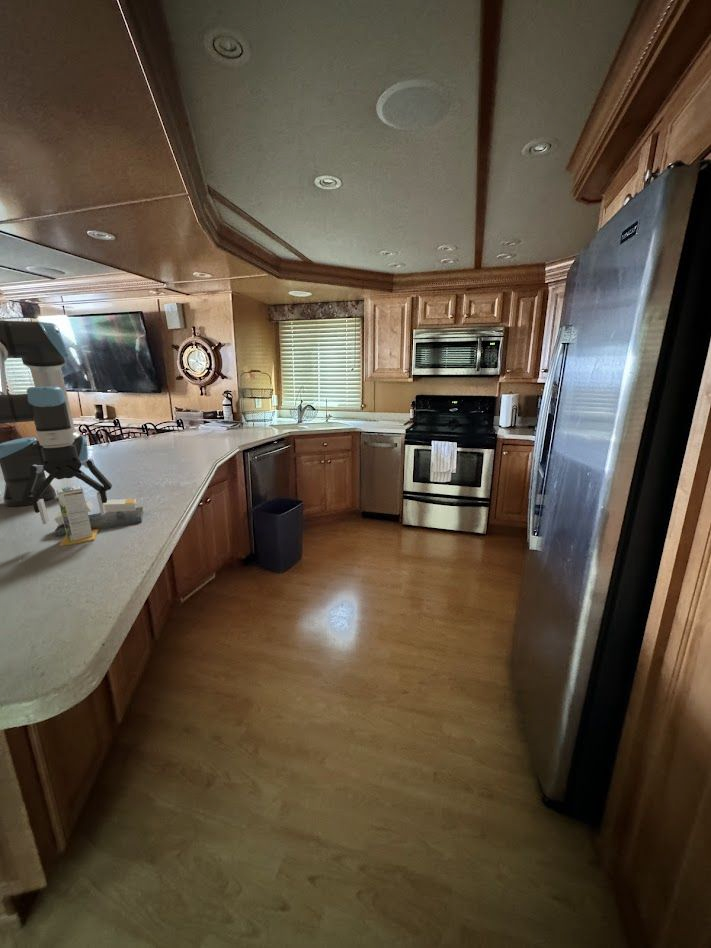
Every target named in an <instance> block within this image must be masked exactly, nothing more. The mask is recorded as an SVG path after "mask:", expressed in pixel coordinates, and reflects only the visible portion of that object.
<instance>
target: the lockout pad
mask: <svg viewBox="0 0 711 948" xmlns="http://www.w3.org/2000/svg"><path fill="white" fill-rule="evenodd" d="M99 530H100V529H95V530H92V535H93V536H91V537H87V538H83V539H80V540H76V541H72V542H69V541H68V538H67V535H64V537H63V539H62V540H61V542H60V544H59V547H64V546H70V545H76V544H81V543H87V542H91V541H95V539H96V537H97V535H98V533H99Z"/></svg>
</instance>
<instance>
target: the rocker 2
mask: <svg viewBox="0 0 711 948" xmlns="http://www.w3.org/2000/svg"><path fill="white" fill-rule="evenodd" d="M104 507H105V511H106V512H116V511H135V509H136V508H137V499H136V498H126V499H123V498H122V499H121V498H120V499H107V502H106V503H104Z"/></svg>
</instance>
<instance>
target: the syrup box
mask: <svg viewBox="0 0 711 948" xmlns="http://www.w3.org/2000/svg"><path fill="white" fill-rule="evenodd" d="M56 495H57V497H58V504H59V509H60V513H61V514H62V518H63V522H64V526H65V530H66V535H67V538H68V541H69V542H72V541H76V540H80V539H83V538H87V537H91V536H93V535H92V530H91V526H90V521H89V516H88V515H89V512H87V507H86V502H85V501H86V497H85V493H84V490H83V488H82V486H81V485H72V486H71V485H70V486H65V487H61V488H57V489H56ZM66 535H65V536H66Z"/></svg>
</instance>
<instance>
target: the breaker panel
mask: <svg viewBox="0 0 711 948" xmlns="http://www.w3.org/2000/svg"><path fill="white" fill-rule="evenodd" d="M143 508H144V507H143V506H139V507H136V509H135V511H116V512H105V515H101V512H98V513H93V514H88V516H89V521H90V526H91V530H95V529H99V530H104V529H109V528H110V529H111V528H115V527H116V528H117V527H122V525H123V526H128V524H129V525H134V524H133V523H135V524H139V522H141V523H143V518H144V509H143ZM54 531H55V535H56V537H63V536H64V537H65V536H66V530H65V526H64V524H62V525H60V526H59V525H58V524H57V527H56V528H55V529H54Z"/></svg>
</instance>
